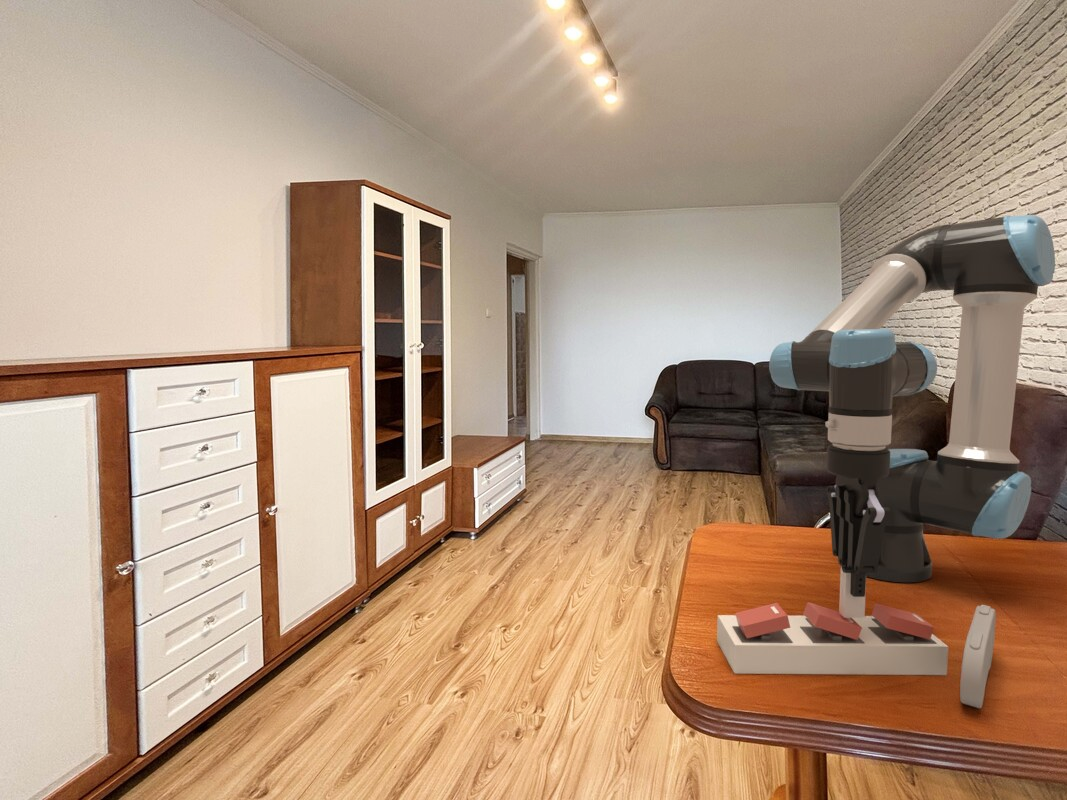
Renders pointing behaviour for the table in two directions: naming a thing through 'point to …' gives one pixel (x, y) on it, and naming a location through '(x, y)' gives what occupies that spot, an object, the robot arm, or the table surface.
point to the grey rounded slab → (977, 656)
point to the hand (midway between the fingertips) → (851, 615)
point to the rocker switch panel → (830, 650)
